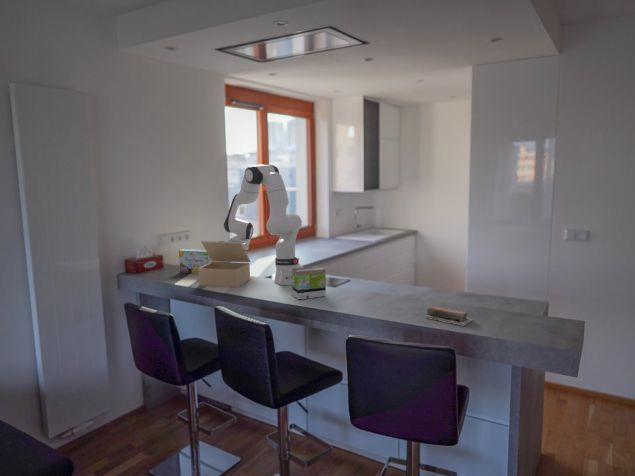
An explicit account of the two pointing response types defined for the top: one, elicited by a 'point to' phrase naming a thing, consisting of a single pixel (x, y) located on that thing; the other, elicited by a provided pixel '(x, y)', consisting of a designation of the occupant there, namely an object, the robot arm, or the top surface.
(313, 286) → the tea box
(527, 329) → the top surface
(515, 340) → the top surface
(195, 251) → the snack box
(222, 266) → the carton
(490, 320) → the top surface
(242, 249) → the carton lid
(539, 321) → the top surface
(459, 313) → the packaged product
